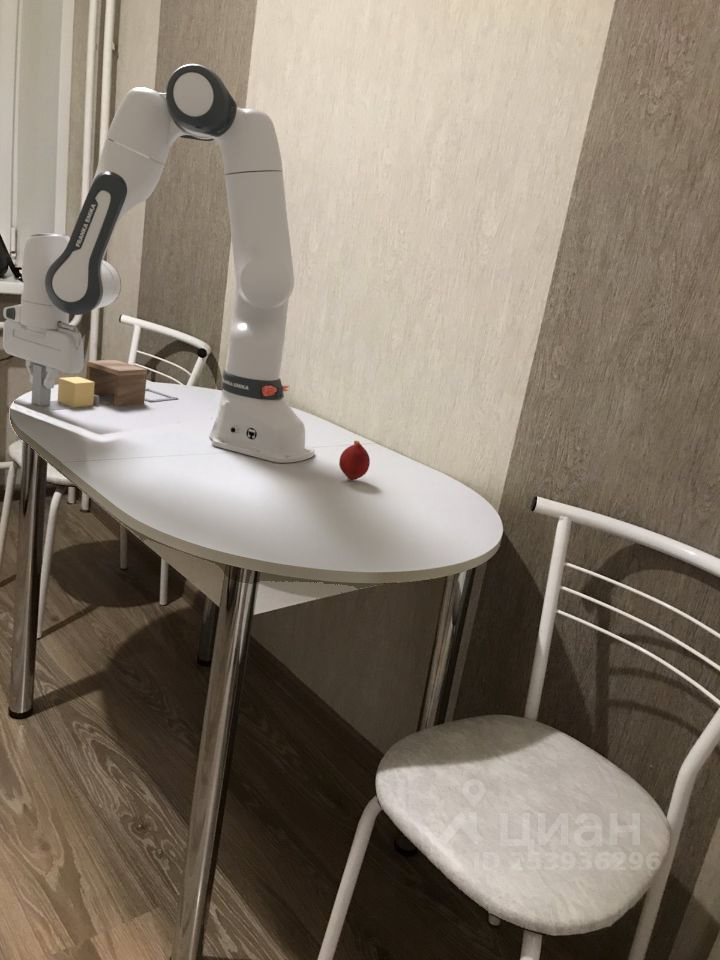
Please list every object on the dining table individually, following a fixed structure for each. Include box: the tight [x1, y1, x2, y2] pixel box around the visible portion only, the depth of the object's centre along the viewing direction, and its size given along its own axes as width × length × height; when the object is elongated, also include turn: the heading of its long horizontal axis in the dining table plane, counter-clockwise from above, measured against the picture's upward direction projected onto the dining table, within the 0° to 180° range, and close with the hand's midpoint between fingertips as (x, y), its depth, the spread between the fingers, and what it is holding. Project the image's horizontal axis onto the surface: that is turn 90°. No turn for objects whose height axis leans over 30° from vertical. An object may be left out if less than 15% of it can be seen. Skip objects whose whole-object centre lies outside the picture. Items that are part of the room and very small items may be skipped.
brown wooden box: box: [85, 359, 148, 407], centre depth 165 cm, size 10×8×9 cm
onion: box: [338, 440, 371, 482], centre depth 141 cm, size 6×6×8 cm
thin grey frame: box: [144, 388, 179, 403], centre depth 175 cm, size 10×9×2 cm
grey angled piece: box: [31, 364, 111, 411], centre depth 155 cm, size 6×15×9 cm, turn 150°
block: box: [57, 376, 95, 408], centre depth 156 cm, size 5×5×5 cm
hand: (41, 385), depth 150 cm, fingers closed on grey angled piece, 2 cm apart
